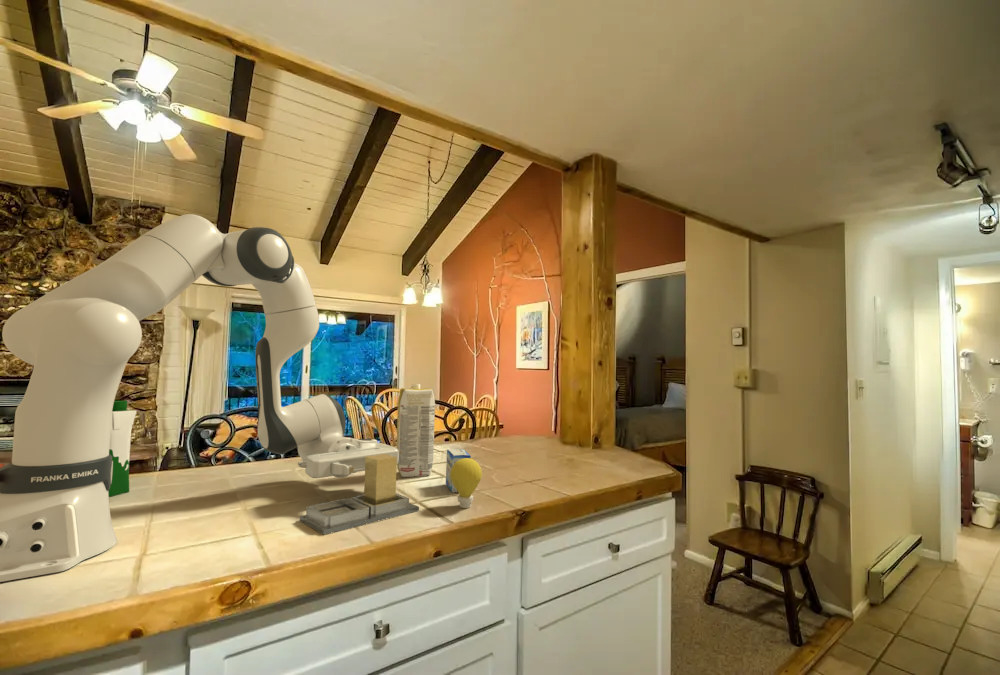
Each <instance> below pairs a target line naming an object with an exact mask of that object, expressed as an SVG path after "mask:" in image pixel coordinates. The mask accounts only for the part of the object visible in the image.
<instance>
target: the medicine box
mask: <svg viewBox="0 0 1000 675" xmlns="http://www.w3.org/2000/svg"><path fill="white" fill-rule="evenodd" d="M463 458H470V459H472V456H471V455H470V454H469V452H468V451H466V450H465V449H463V448H450V449H449V448H448V449H446V464H445V466H446V468H445V469H446V470H445V485H446V486H447V487H448V489H449V490H450V491H451V493H452V494H454V492H456V493H458V491H457V489H456V488H455V486H454V484H453V482H452V480H451V477H450V472H451V469H452V467H453V465H454V464H455V463H456V462H457V461H458V460H460V459H463Z"/></svg>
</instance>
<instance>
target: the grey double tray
mask: <svg viewBox="0 0 1000 675" xmlns="http://www.w3.org/2000/svg"><path fill="white" fill-rule="evenodd" d="M305 509H306V510H305V513H306V514H304V515H303V514H302V515H300V516H299V521H300V522H302V523H303V524H305V526H306V525H307V526H308V527H309V528H311V527H312V528H311V529H313V530H314V529H315V531H316V530H317V531H316V532H318V531H319V532H320V534H321V533H322V534H326V535H328V534H327V533H330V534H332V533H331V532H334V533H336V532H335V531H338V532H341V530H342V531H344V530H345V529H346V530H349V529H352V527H353V528H356V526H357V527H360V525H361V526H364V525H363V524H365V525H367V524H366V523H369V524H371V523H370V522H373V523H375V522H374V521H377V522H379V521H378V520H381V521H383V520H382V519H385V520H387V519H386V518H389V519H391V518H390V517H392V518H396V517H400V516H404V515H407V513H408V514H411V513H415V511H416V512H419V511H420V506H419V505H415V504H413V503H411V502H410V498H409V497H407V496H404V495H402V494H400V493H397V492H396V500H395V501H391V502H387V503H383V504H378V505H371V504H369V503H367V502H365V501H364V494H359V495H355V496H353V497H351V498H350V497H349V498H340V499H335V500H331V501H325V502H322V503H316V504H311V505H309V506H306V508H305ZM418 510H419V511H418ZM403 514H404V515H403ZM399 515H400V516H399ZM395 516H396V517H395ZM348 528H349V529H348ZM319 532H318V533H319ZM322 534H321V535H322Z"/></svg>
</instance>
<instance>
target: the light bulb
mask: <svg viewBox="0 0 1000 675" xmlns="http://www.w3.org/2000/svg"><path fill="white" fill-rule="evenodd" d="M450 477H451V480H452V482H453V484H454V486H455V488H456V489H457V491H458V492H457V493H458V496H457V502H458V503H459V507H460V508H461V509H469V508H471V507H472V503H473V502H474V495H473V493H474V492H475V491H476V488H477V487H478V485H479V484H480V481H481V479H482V477H483V472H482V468H481V465H479V463H478V462H477V461H476V460H474V459H473V458H471V459H470V458H463V459H460V460H458V461H457V462H456V463H455V464H454V465H453V467H452V469H451V472H450Z"/></svg>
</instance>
